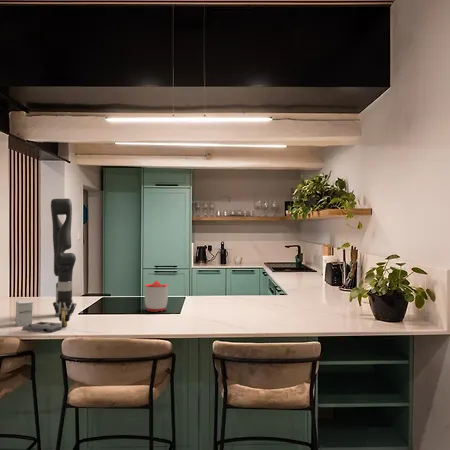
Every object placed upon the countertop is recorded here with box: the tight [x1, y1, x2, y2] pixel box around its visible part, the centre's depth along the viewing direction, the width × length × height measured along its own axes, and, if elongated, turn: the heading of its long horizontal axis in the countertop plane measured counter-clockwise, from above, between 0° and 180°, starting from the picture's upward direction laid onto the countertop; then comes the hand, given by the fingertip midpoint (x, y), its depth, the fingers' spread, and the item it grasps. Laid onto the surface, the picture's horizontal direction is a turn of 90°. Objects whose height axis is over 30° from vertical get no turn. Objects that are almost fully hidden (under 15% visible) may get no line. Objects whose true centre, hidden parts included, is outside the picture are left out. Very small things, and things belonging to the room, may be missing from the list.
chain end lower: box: [21, 324, 47, 332], centre depth 222 cm, size 7×13×2 cm, turn 76°
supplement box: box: [15, 300, 34, 327], centre depth 232 cm, size 7×7×13 cm
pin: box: [60, 308, 68, 327], centre depth 228 cm, size 4×4×10 cm
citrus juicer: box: [144, 280, 169, 313], centre depth 277 cm, size 16×17×20 cm
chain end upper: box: [31, 321, 62, 333], centre depth 221 cm, size 7×13×4 cm, turn 76°
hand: (64, 320), depth 228 cm, fingers closed on pin, 3 cm apart
